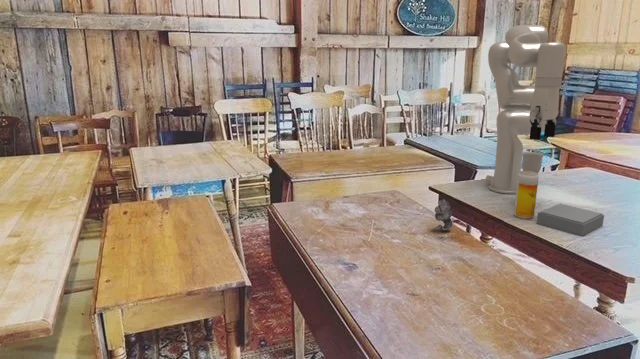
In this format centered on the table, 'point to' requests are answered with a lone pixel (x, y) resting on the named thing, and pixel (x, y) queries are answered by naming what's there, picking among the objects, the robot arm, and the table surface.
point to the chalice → (532, 161)
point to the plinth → (570, 219)
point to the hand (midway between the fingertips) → (542, 138)
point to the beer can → (526, 194)
